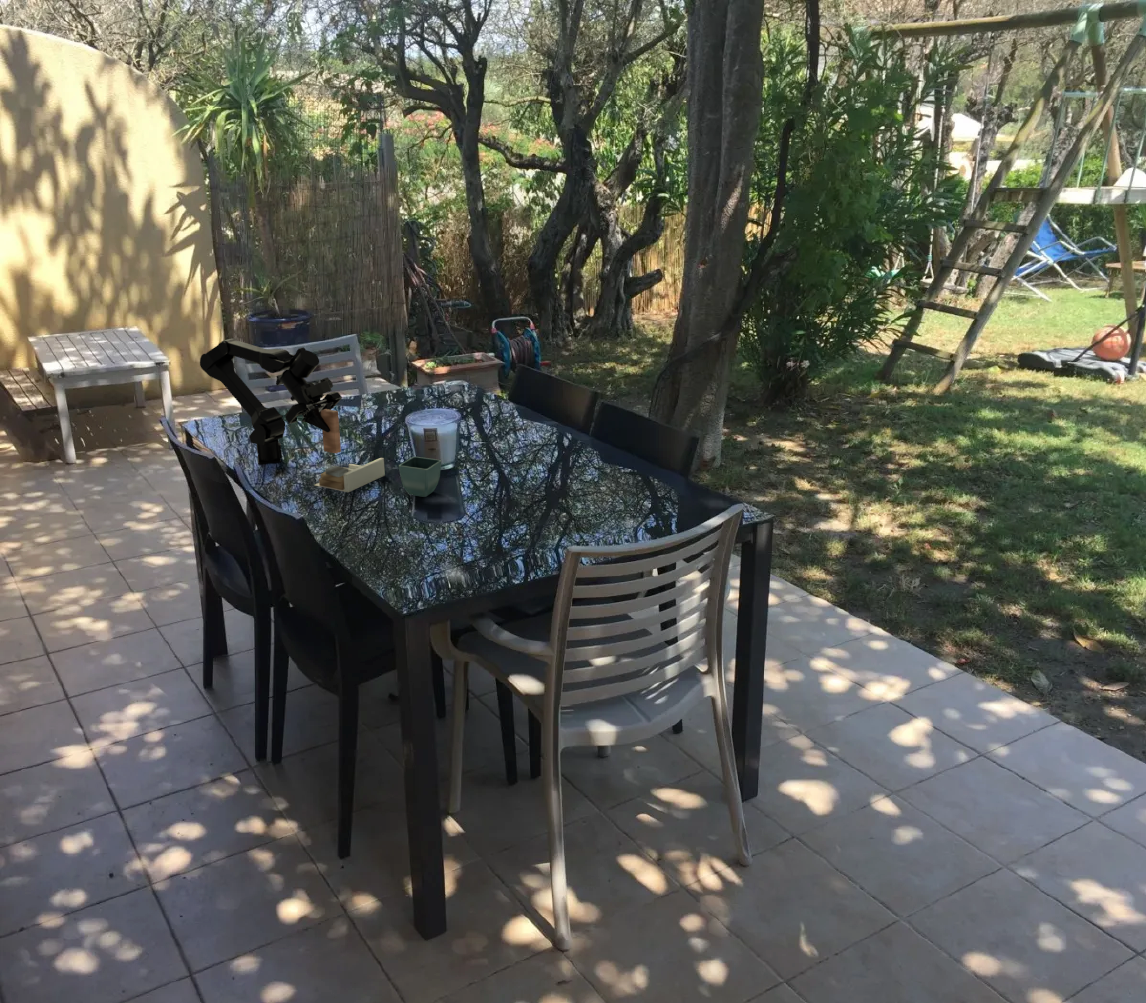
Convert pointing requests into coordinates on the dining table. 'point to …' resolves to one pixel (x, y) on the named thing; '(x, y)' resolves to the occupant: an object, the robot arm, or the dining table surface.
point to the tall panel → (331, 431)
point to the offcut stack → (333, 477)
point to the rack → (361, 474)
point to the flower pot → (420, 475)
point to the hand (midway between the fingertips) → (331, 430)
